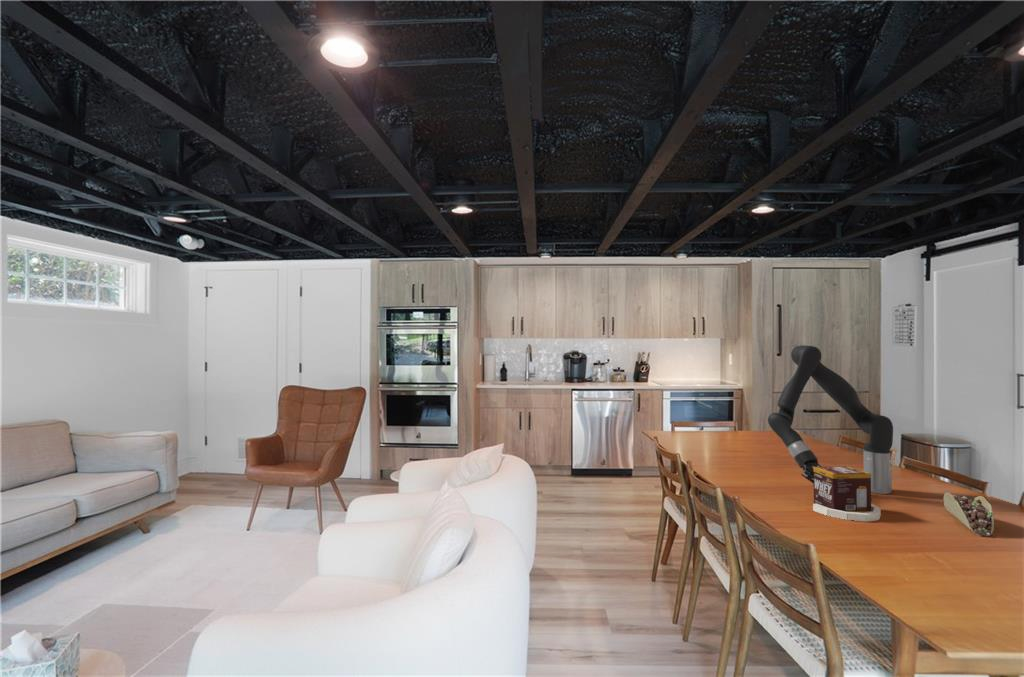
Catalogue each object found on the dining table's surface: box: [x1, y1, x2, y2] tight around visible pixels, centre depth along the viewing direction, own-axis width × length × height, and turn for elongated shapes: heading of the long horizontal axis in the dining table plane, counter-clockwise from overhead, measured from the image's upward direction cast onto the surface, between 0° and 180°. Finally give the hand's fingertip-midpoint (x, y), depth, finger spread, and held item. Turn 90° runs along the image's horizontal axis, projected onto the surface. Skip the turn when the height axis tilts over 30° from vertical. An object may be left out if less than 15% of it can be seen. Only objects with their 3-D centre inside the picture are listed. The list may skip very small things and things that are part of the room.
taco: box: [943, 492, 995, 537], centre depth 166 cm, size 10×27×10 cm, turn 152°
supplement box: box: [813, 466, 872, 513], centre depth 179 cm, size 10×15×16 cm
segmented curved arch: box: [812, 502, 882, 523], centre depth 175 cm, size 23×14×2 cm, turn 107°
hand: (829, 492), depth 185 cm, fingers closed
